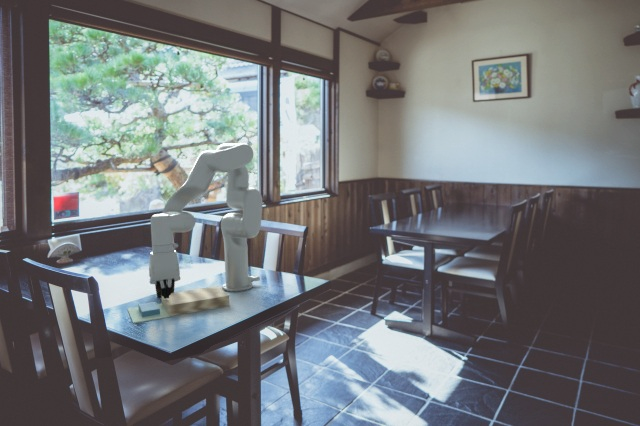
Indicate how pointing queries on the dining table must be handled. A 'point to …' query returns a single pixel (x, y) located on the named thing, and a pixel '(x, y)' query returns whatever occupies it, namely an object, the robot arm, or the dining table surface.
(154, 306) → the blue rectangular block
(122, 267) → the dining table surface
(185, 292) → the beige wood-grain panel
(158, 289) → the coffee mug
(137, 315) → the mat
